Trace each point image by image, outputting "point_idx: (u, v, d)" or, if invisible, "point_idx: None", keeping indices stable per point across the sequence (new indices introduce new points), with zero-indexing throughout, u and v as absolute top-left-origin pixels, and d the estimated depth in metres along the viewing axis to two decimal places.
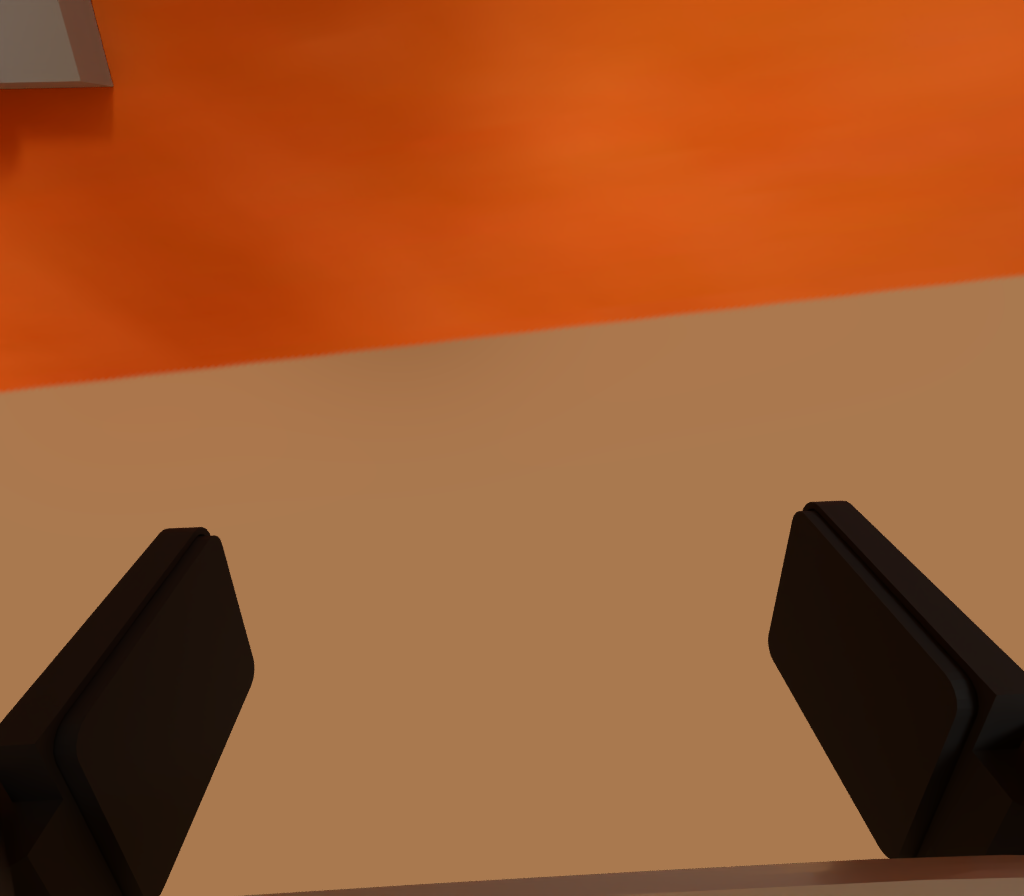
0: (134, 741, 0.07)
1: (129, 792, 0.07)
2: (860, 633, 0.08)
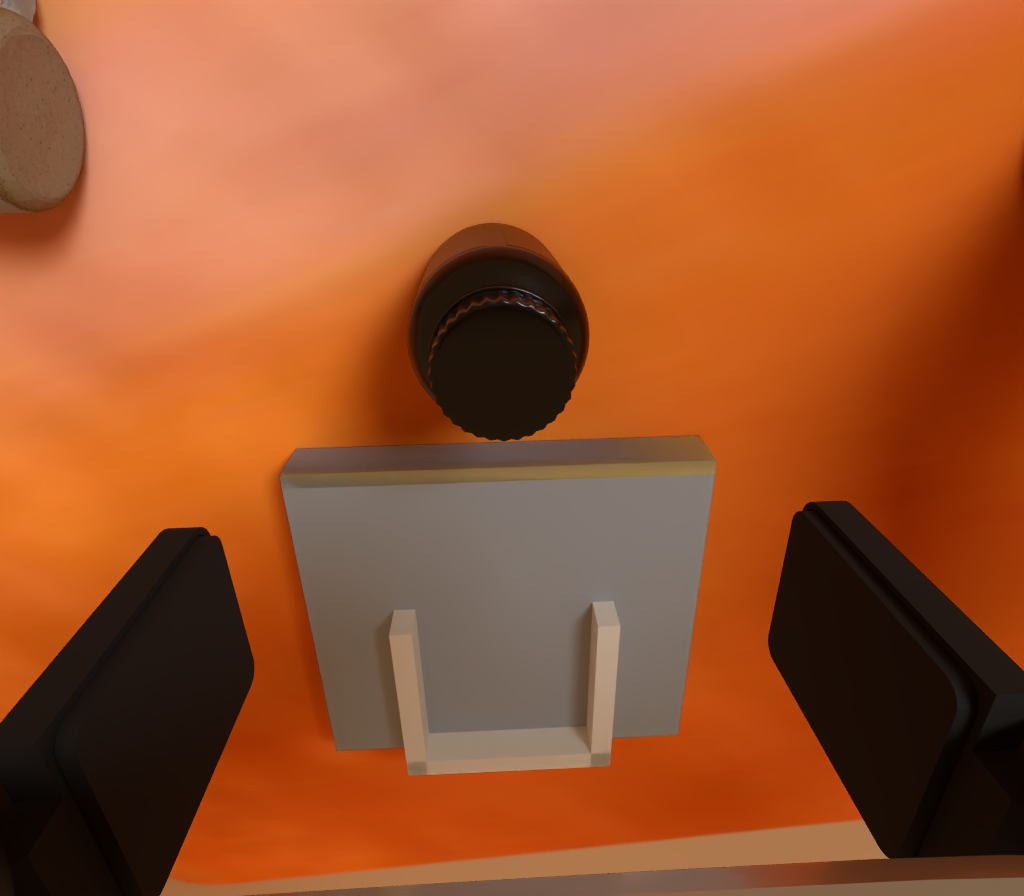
0: (134, 741, 0.07)
1: (129, 792, 0.07)
2: (860, 633, 0.08)
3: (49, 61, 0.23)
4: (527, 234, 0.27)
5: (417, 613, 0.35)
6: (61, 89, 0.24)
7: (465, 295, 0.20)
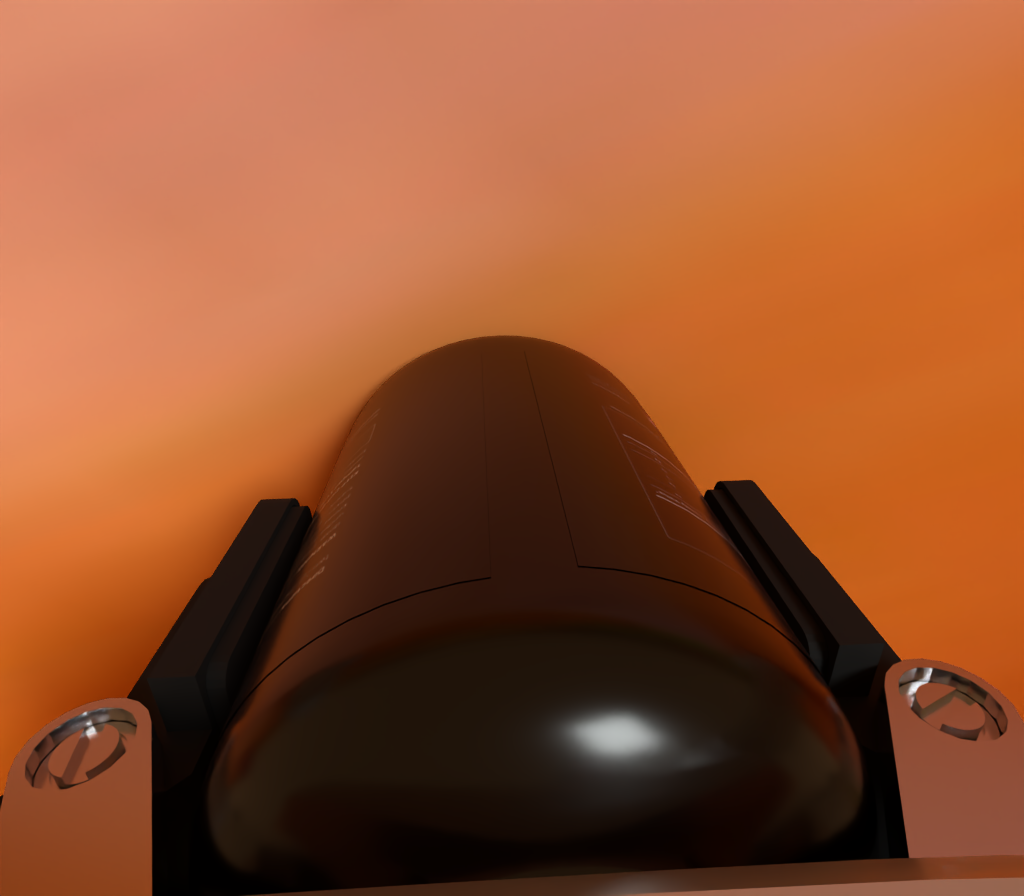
0: None
1: None
2: None
3: None
4: (594, 378, 0.10)
5: None
6: None
7: None
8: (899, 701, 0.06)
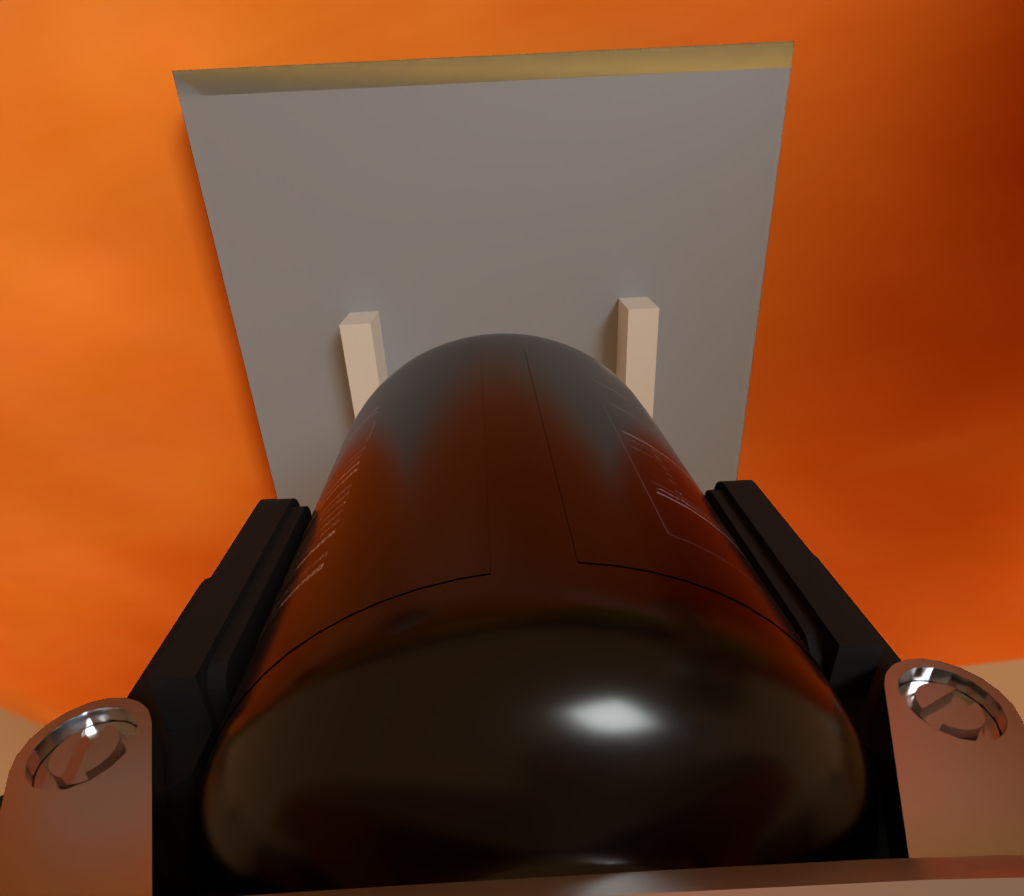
0: None
1: None
2: None
3: None
4: (594, 375, 0.10)
5: (381, 317, 0.26)
6: None
7: None
8: (899, 701, 0.06)
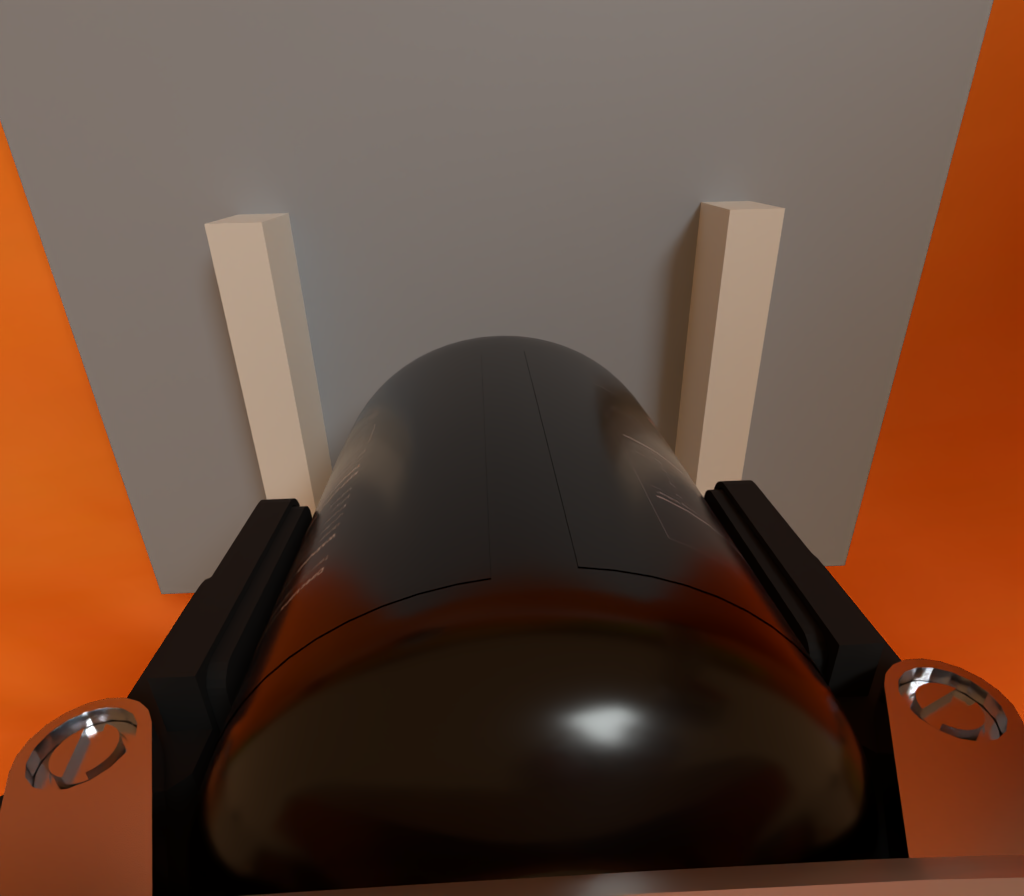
0: None
1: None
2: None
3: None
4: (594, 378, 0.10)
5: (294, 225, 0.15)
6: None
7: None
8: (899, 701, 0.06)
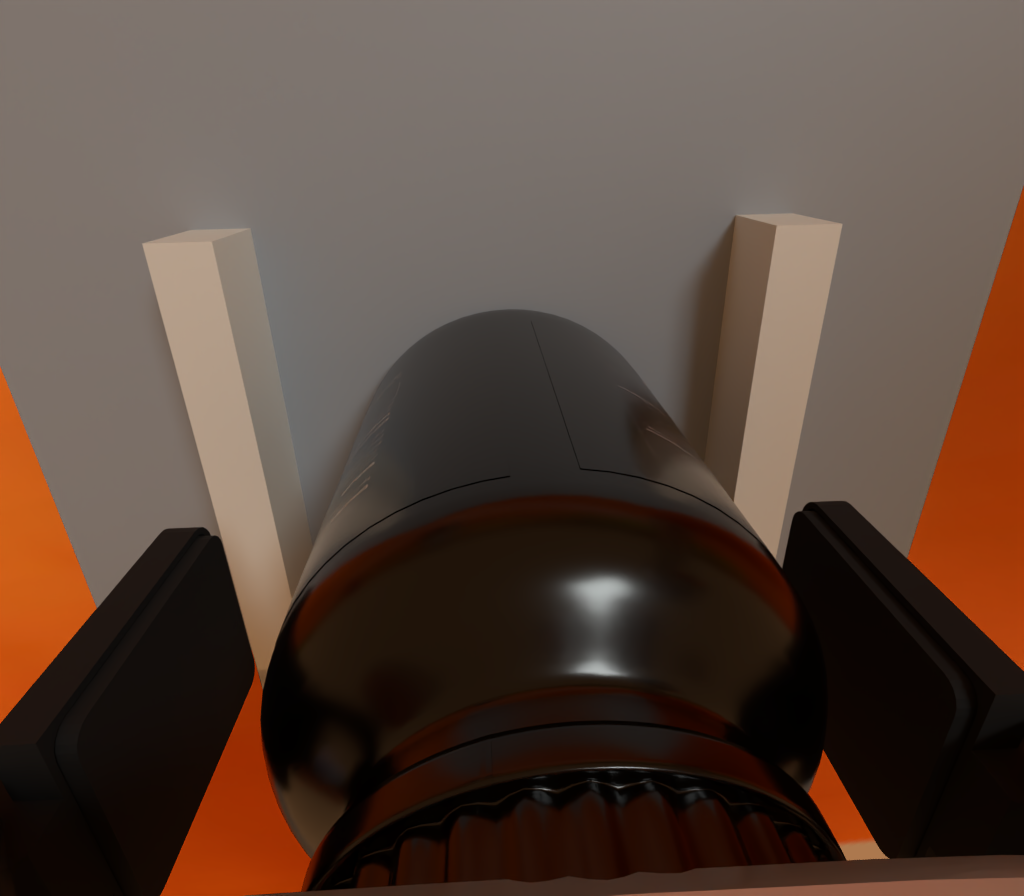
0: (135, 741, 0.07)
1: (130, 792, 0.07)
2: (860, 633, 0.08)
3: None
4: (594, 344, 0.12)
5: (258, 242, 0.13)
6: None
7: (432, 793, 0.04)
8: None
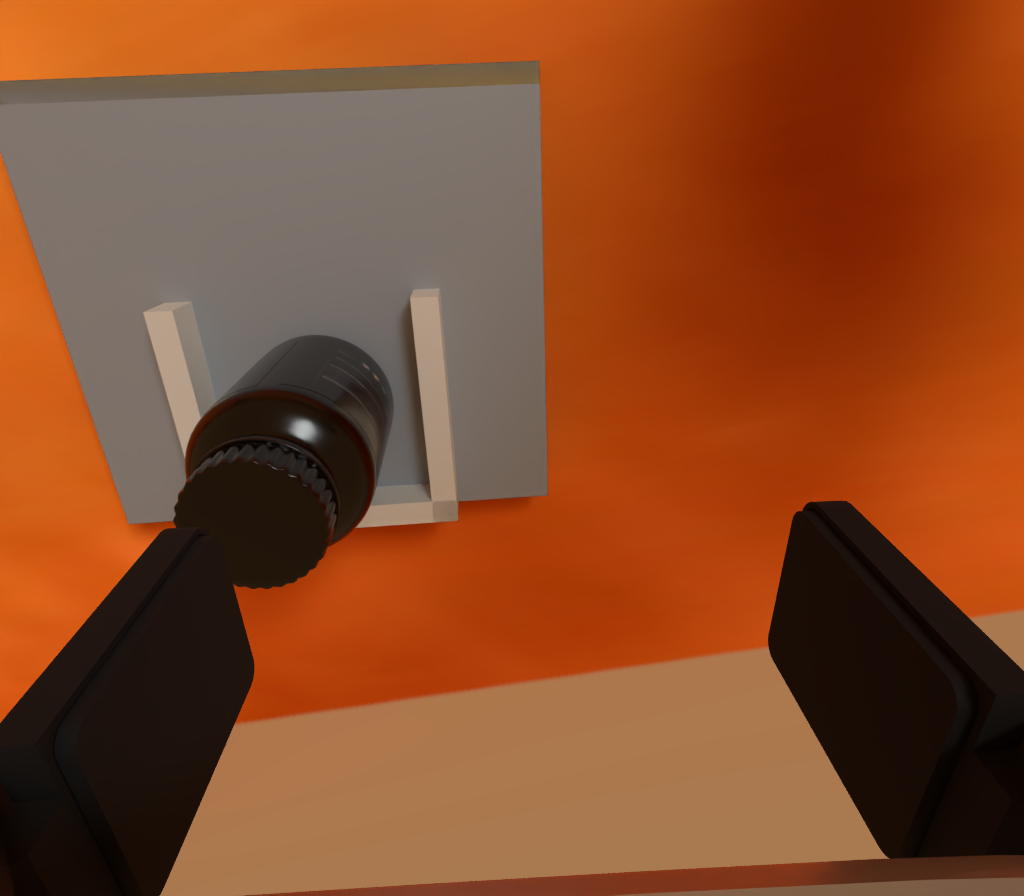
0: (134, 741, 0.07)
1: (129, 792, 0.07)
2: (860, 633, 0.08)
3: None
4: (340, 349, 0.27)
5: (195, 307, 0.28)
6: None
7: (215, 448, 0.20)
8: None
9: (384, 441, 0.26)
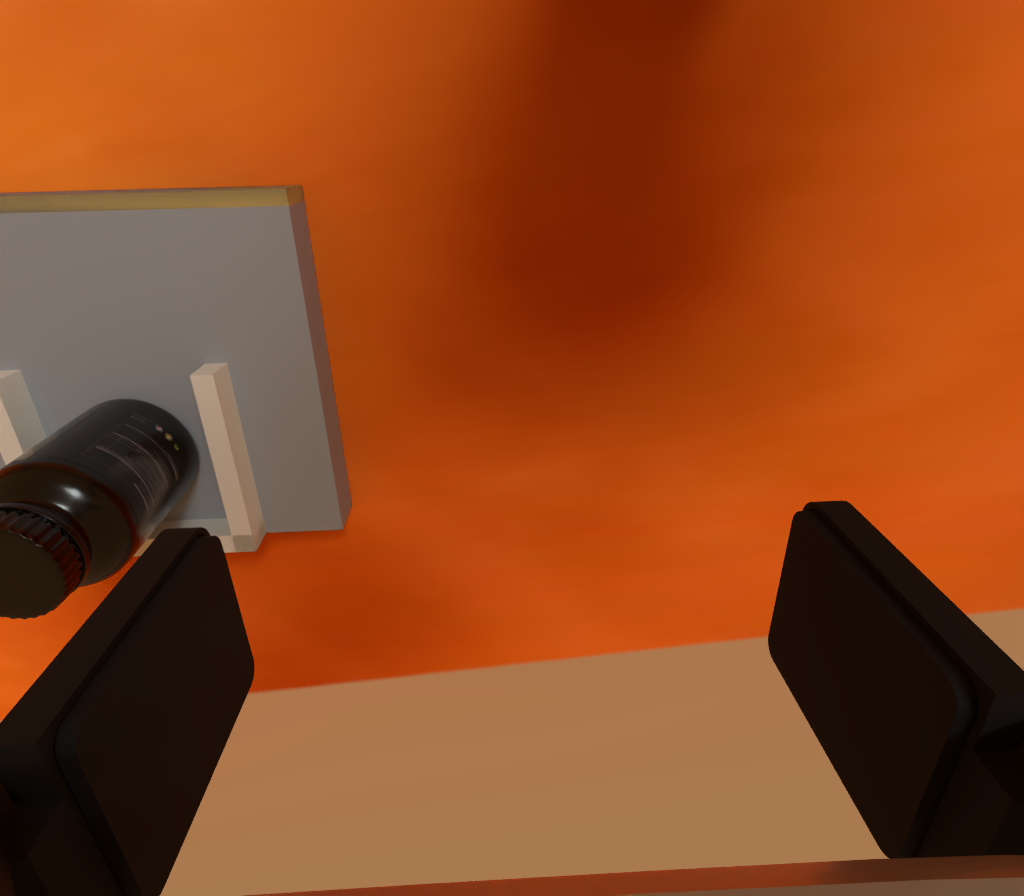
0: (134, 741, 0.07)
1: (129, 792, 0.07)
2: (860, 633, 0.08)
3: None
4: (136, 414, 0.33)
5: (24, 374, 0.34)
6: None
7: None
8: None
9: (162, 494, 0.32)
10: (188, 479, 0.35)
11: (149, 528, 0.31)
